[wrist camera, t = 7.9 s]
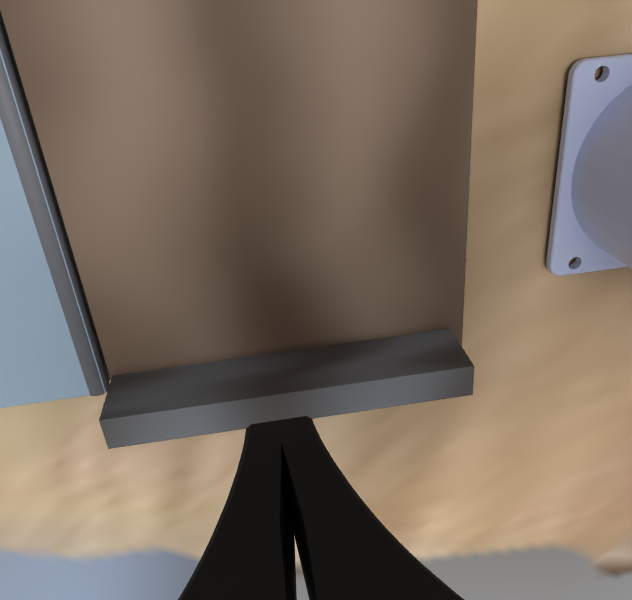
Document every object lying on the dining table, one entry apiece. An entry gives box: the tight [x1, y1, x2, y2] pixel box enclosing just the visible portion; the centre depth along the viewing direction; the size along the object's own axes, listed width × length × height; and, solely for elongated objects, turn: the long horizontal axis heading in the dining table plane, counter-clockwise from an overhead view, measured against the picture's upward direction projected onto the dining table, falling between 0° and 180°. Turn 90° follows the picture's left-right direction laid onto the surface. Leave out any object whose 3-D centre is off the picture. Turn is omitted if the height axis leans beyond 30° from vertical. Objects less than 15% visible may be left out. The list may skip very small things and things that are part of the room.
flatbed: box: [0, 0, 477, 449], centre depth 17 cm, size 13×20×4 cm, turn 5°
